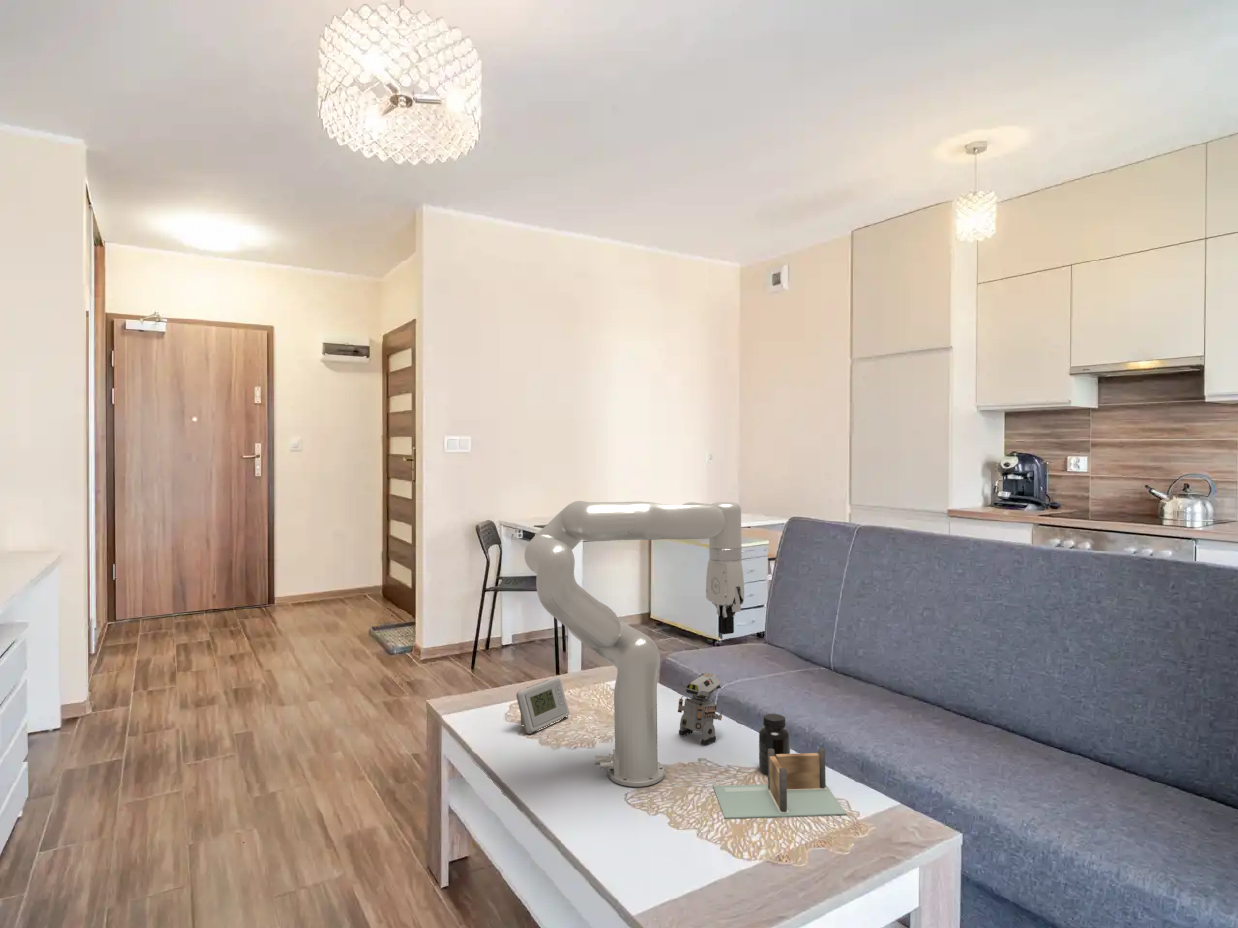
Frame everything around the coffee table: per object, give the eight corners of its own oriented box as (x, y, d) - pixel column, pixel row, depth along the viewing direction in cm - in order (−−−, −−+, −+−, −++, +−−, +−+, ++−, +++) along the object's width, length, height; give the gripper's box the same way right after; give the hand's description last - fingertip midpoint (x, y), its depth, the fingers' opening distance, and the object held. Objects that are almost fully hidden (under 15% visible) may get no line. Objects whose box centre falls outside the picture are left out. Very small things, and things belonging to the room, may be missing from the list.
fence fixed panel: (777, 789, 145) (777, 751, 145) (775, 786, 146) (775, 749, 146) (826, 788, 145) (826, 750, 145) (824, 785, 147) (823, 747, 147)
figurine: (731, 735, 174) (731, 676, 174) (700, 748, 167) (699, 686, 167) (705, 725, 181) (704, 668, 181) (673, 737, 174) (673, 677, 174)
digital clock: (526, 737, 175) (526, 695, 175) (507, 727, 182) (507, 687, 182) (577, 720, 186) (576, 681, 186) (557, 711, 193) (557, 673, 193)
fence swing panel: (787, 811, 136) (787, 770, 136) (780, 811, 136) (780, 770, 136) (773, 785, 146) (773, 748, 146) (767, 786, 146) (766, 748, 146)
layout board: (724, 818, 134) (724, 817, 134) (713, 787, 147) (713, 785, 147) (846, 814, 135) (846, 813, 135) (824, 783, 148) (824, 782, 148)
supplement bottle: (791, 778, 151) (790, 723, 150) (759, 776, 152) (758, 721, 152) (789, 765, 157) (789, 712, 157) (759, 762, 159) (758, 710, 159)
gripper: (695, 552, 167) (696, 627, 167) (729, 560, 154) (730, 642, 154) (721, 550, 170) (722, 624, 170) (757, 557, 157) (758, 638, 157)
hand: (726, 632), depth 162 cm, fingers closed
